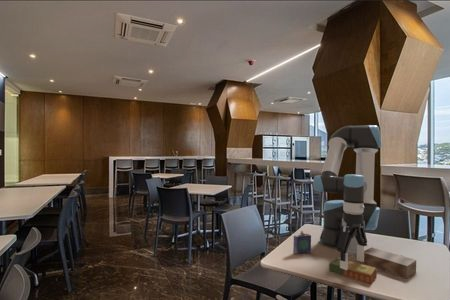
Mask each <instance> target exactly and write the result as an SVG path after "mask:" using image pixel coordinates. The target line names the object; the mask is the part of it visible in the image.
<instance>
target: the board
mask: <svg viewBox="0 0 450 300" xmlns="http://www.w3.org/2000/svg"><path fill="white" fill-rule="evenodd" d="M363 223H364V230H365V221H363ZM342 226H345V227H346V222H344V221H343V219H342ZM363 240H364V239H363ZM357 245H359V244H358V242H357V240H356V238H355V236H354V238H352V239H351V242H350V244H349V247H348V250H347V252H346V253H348V256H354V257H357Z"/></svg>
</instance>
